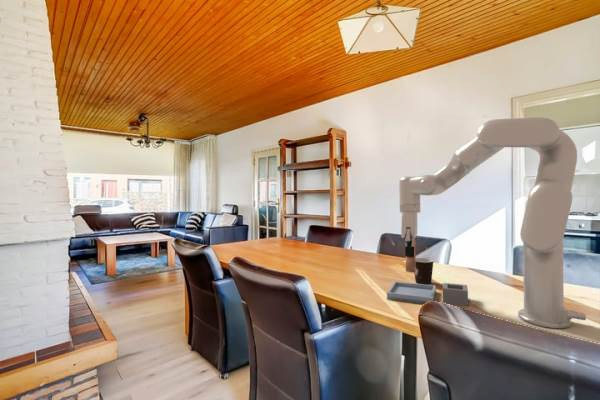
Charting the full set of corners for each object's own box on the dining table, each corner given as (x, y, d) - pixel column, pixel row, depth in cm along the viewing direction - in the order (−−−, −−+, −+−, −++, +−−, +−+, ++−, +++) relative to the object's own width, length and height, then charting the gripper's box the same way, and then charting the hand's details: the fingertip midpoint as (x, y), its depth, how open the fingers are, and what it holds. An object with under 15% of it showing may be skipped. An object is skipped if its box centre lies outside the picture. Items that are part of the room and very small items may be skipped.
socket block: (467, 298, 114) (467, 285, 114) (468, 305, 107) (467, 291, 107) (443, 295, 118) (443, 282, 118) (442, 302, 111) (442, 288, 110)
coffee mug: (436, 285, 130) (435, 262, 130) (414, 285, 132) (414, 262, 132) (430, 278, 142) (429, 256, 142) (410, 277, 143) (410, 256, 143)
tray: (435, 291, 123) (435, 285, 123) (433, 305, 108) (432, 298, 108) (394, 287, 130) (394, 281, 130) (387, 299, 116) (386, 292, 116)
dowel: (416, 270, 120) (415, 240, 120) (415, 272, 117) (414, 241, 116) (406, 269, 122) (406, 239, 121) (405, 271, 118) (404, 240, 118)
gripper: (403, 207, 128) (403, 251, 128) (396, 209, 113) (396, 259, 113) (422, 207, 124) (422, 252, 125) (417, 209, 110) (418, 261, 110)
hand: (410, 255), depth 119 cm, fingers closed on dowel, 3 cm apart
